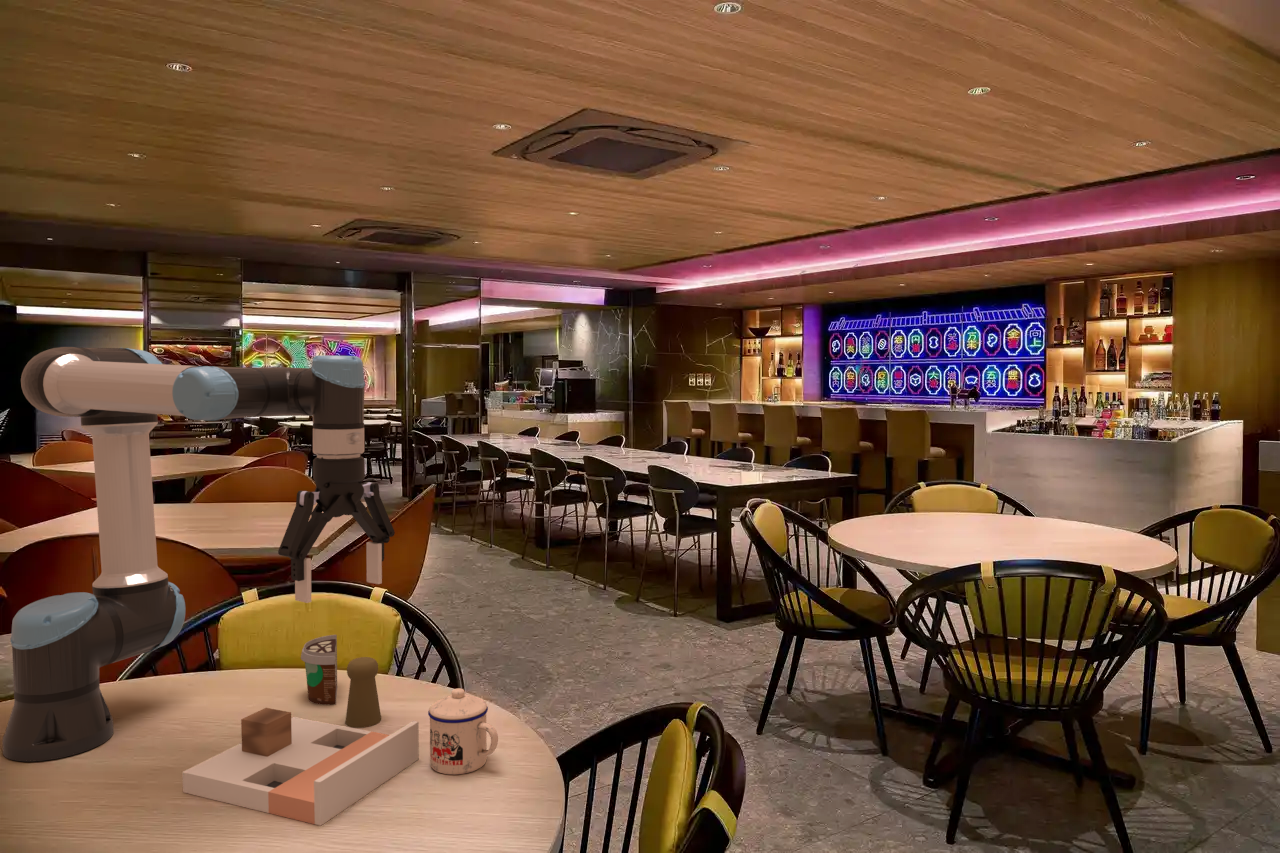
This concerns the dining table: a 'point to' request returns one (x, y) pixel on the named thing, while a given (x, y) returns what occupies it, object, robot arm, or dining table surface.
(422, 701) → the dining table surface
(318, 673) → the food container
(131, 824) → the dining table surface
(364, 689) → the cork
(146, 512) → the robot arm
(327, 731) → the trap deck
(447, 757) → the teacup with lid
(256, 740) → the walnut block
